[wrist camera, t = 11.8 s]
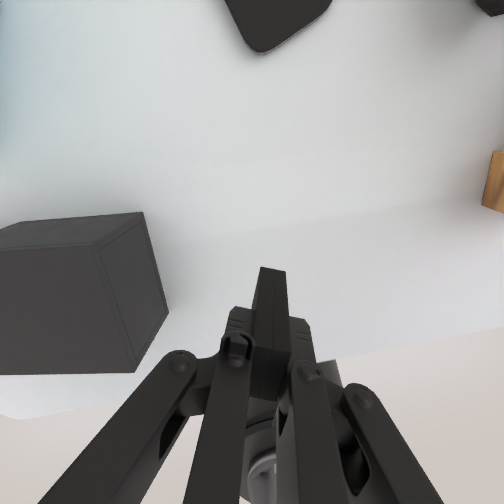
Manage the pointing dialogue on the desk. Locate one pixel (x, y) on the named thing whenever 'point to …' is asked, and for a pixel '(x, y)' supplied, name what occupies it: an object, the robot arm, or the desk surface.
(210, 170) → the desk surface
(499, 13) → the rock
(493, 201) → the block
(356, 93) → the desk surface
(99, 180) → the desk surface
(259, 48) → the smartphone
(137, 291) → the cabinet
